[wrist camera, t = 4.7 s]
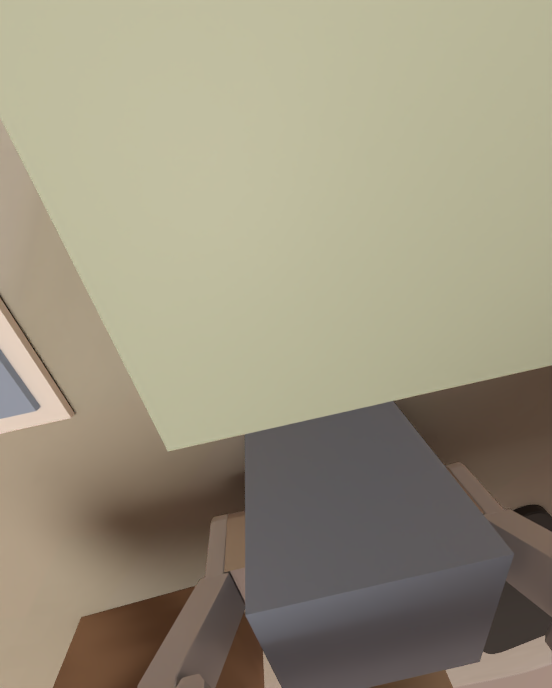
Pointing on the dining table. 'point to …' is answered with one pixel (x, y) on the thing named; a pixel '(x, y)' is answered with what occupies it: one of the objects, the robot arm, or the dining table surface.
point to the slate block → (364, 553)
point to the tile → (25, 382)
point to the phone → (518, 605)
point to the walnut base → (146, 647)
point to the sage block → (294, 194)
